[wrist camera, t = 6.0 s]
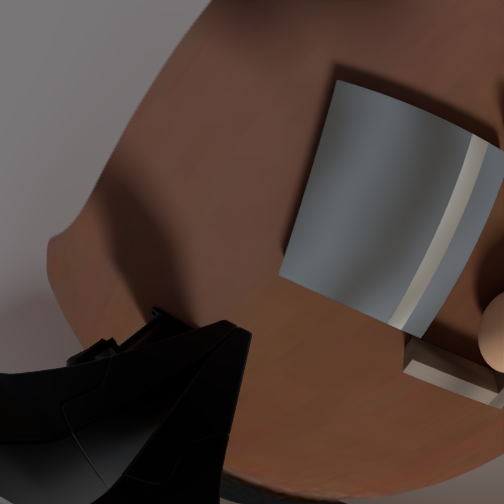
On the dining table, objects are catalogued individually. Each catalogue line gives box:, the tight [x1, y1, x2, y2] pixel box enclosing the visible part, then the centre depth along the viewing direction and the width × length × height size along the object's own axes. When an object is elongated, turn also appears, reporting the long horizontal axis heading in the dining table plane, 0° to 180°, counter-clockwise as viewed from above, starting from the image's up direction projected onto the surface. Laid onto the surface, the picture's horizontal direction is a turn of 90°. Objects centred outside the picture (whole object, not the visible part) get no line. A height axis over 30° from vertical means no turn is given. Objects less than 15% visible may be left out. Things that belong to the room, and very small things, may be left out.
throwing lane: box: [279, 80, 504, 409], centre depth 14 cm, size 20×16×2 cm
